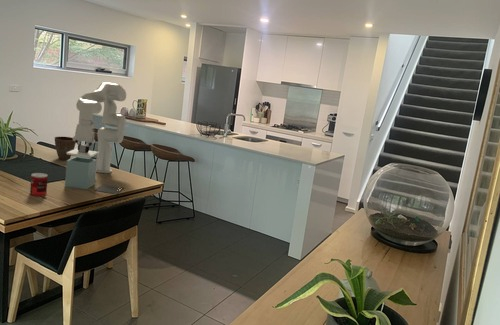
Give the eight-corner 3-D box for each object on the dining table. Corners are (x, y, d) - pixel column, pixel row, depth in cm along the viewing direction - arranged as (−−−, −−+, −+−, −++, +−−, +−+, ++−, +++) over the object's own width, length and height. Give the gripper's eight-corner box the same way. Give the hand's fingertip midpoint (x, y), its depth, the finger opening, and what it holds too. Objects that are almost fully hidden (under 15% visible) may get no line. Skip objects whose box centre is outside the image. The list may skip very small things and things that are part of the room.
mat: (102, 184, 244) (102, 184, 244) (124, 188, 245) (124, 187, 245) (94, 190, 230) (94, 190, 230) (117, 194, 231) (117, 193, 231)
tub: (73, 180, 242) (75, 156, 239) (94, 184, 243) (96, 159, 240) (64, 186, 229) (66, 160, 227) (86, 189, 230) (89, 163, 227)
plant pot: (69, 162, 284) (70, 141, 282) (49, 159, 284) (50, 138, 281) (78, 158, 299) (79, 138, 296) (59, 155, 299) (60, 135, 296)
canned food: (33, 191, 212) (35, 172, 210) (48, 193, 213) (50, 174, 211) (27, 195, 205) (28, 175, 203) (42, 197, 206) (44, 177, 204)
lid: (75, 151, 240) (76, 141, 238) (98, 155, 241) (99, 144, 239) (66, 155, 226) (67, 145, 225) (90, 159, 227) (91, 148, 226)
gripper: (101, 123, 233) (99, 153, 237) (74, 119, 232) (71, 148, 236) (97, 125, 226) (94, 155, 230) (68, 120, 225) (66, 151, 229)
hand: (83, 151), depth 233 cm, fingers closed on lid, 3 cm apart
